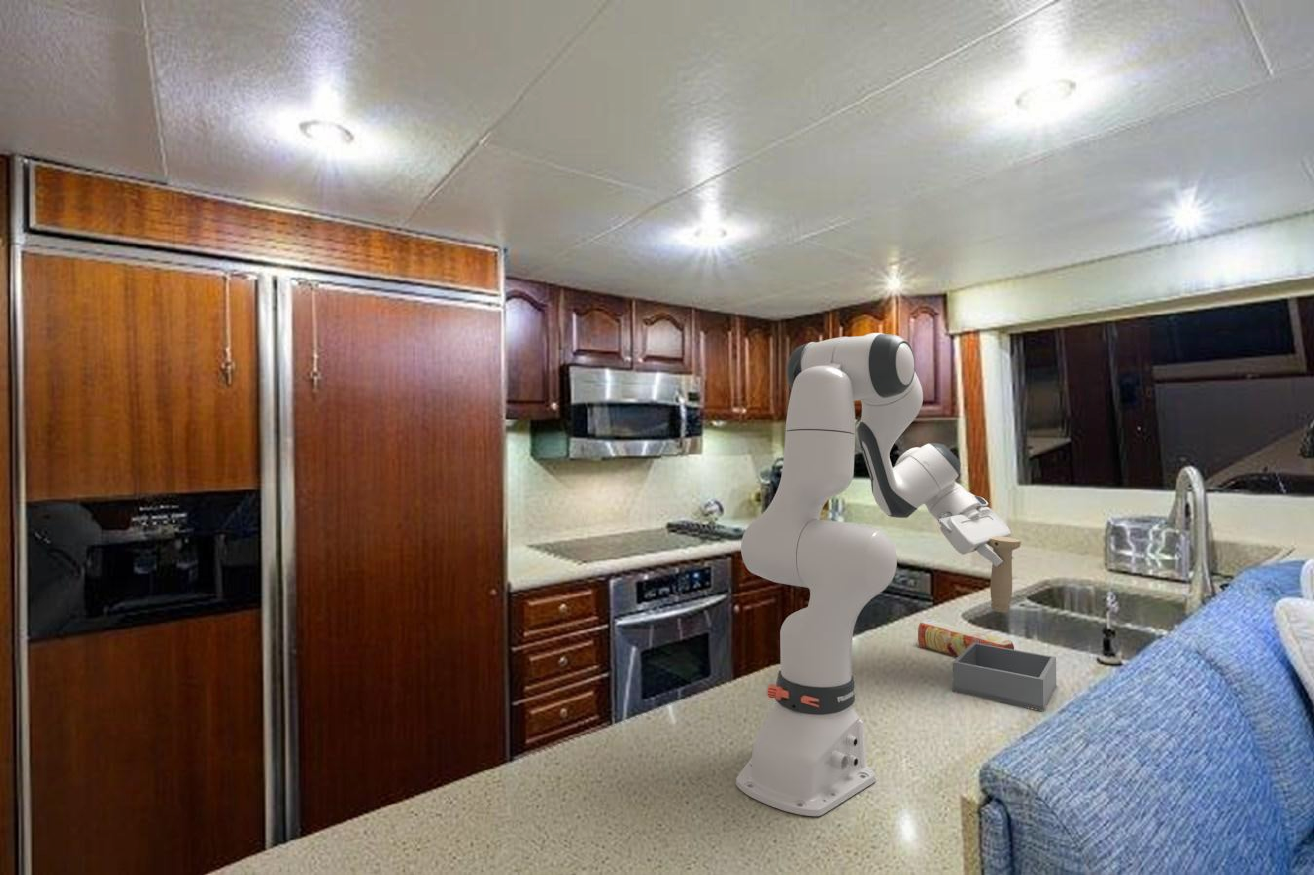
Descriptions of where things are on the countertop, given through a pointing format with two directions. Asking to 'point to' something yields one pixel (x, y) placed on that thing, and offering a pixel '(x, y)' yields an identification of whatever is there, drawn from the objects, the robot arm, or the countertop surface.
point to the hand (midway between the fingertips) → (1005, 562)
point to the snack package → (954, 638)
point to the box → (1005, 675)
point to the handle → (1002, 573)
